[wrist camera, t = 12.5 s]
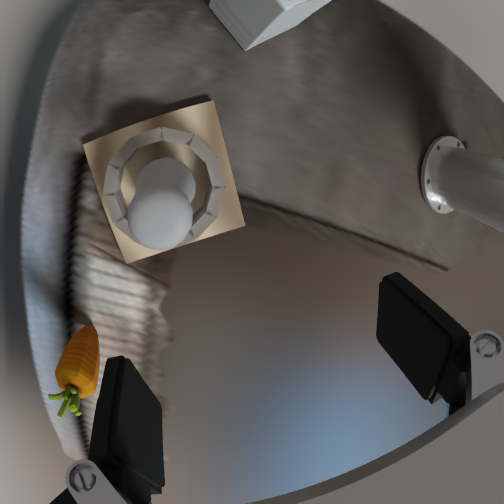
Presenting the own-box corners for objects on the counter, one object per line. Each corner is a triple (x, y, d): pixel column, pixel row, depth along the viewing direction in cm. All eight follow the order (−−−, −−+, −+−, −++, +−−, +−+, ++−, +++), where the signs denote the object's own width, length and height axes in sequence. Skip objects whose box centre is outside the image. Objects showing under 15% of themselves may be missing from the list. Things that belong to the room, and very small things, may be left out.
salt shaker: (130, 169, 27) (97, 198, 15) (182, 146, 27) (184, 158, 16) (152, 219, 30) (138, 278, 18) (202, 198, 30) (219, 245, 18)
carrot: (84, 342, 34) (63, 429, 21) (68, 314, 32) (35, 401, 19) (114, 336, 35) (100, 427, 22) (99, 306, 33) (73, 398, 20)
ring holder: (212, 101, 27) (217, 96, 23) (243, 222, 33) (251, 235, 30) (85, 144, 25) (73, 146, 22) (127, 260, 32) (122, 276, 28)
